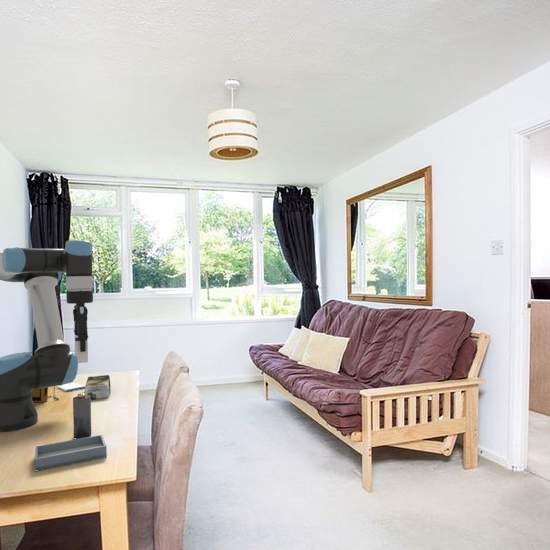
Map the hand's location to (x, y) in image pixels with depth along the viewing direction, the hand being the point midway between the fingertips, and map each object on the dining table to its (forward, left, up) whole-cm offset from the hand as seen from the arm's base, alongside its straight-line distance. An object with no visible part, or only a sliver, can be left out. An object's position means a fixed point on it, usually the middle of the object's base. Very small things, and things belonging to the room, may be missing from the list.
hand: (81, 359), depth 135 cm
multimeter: (-55, -11, -24) cm, 61 cm away
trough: (+16, -4, -24) cm, 29 cm away
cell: (0, 0, -24) cm, 24 cm away
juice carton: (-53, +10, -24) cm, 59 cm away
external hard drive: (-70, 0, -25) cm, 74 cm away
